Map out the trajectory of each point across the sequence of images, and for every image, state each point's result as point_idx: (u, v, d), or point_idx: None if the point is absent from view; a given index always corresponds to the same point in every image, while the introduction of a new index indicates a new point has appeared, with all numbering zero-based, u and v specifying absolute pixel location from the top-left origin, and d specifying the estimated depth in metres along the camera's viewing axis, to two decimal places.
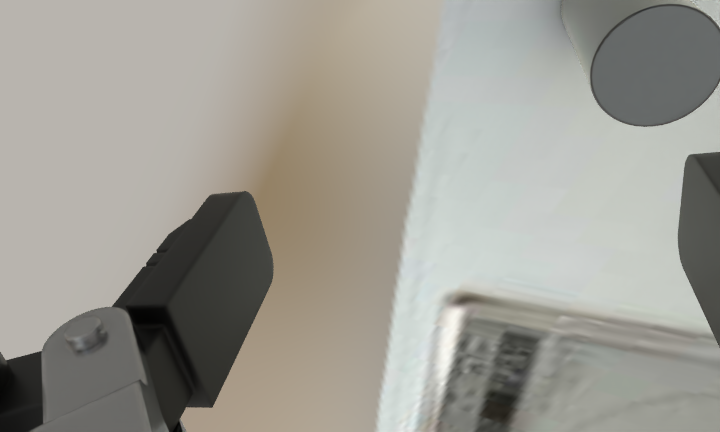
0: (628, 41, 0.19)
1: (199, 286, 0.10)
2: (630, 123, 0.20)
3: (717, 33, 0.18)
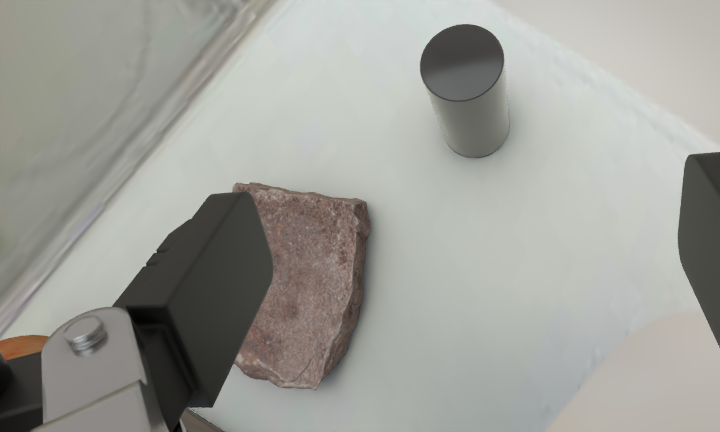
0: (488, 51, 0.28)
1: (199, 286, 0.10)
2: (433, 38, 0.29)
3: (464, 98, 0.28)
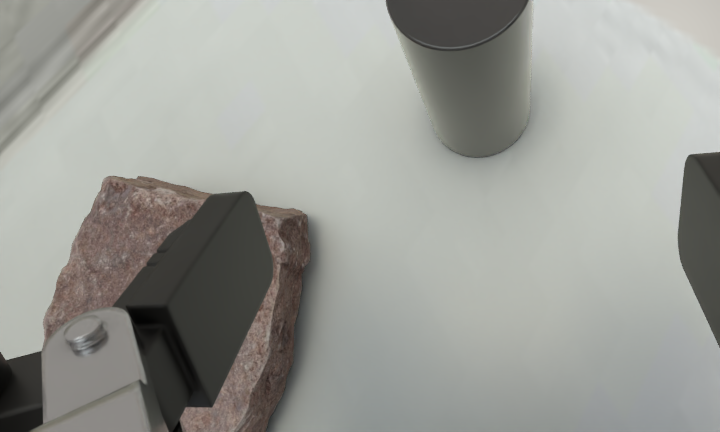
0: None
1: (199, 286, 0.10)
2: None
3: (459, 45, 0.16)
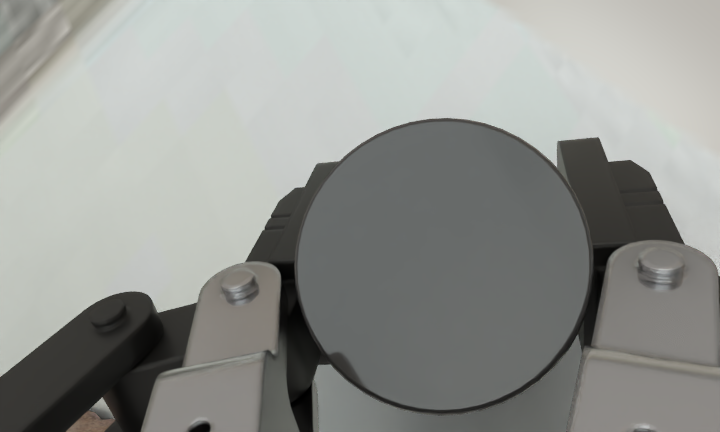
0: (534, 233, 0.08)
1: None
2: (346, 158, 0.09)
3: (437, 405, 0.07)
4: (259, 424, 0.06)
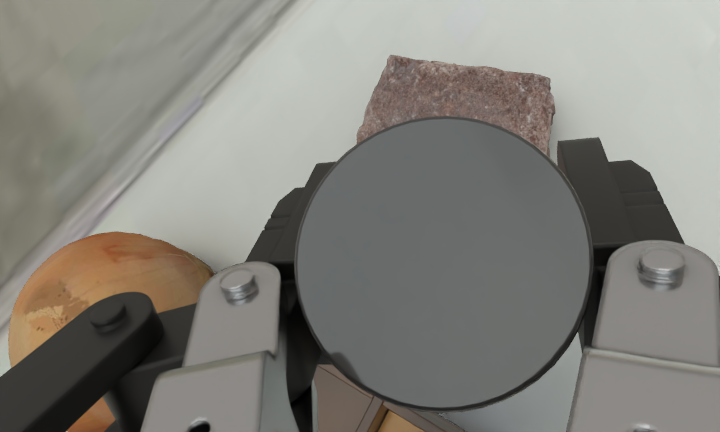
0: (534, 230, 0.08)
1: None
2: (346, 156, 0.09)
3: (437, 403, 0.07)
4: (259, 424, 0.06)
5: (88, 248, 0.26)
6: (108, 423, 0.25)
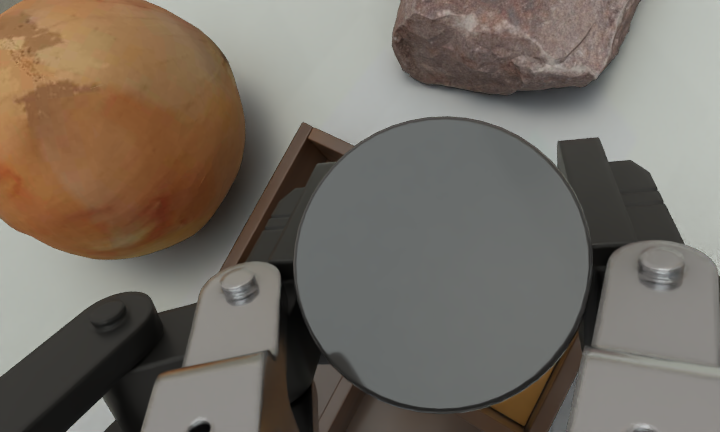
0: (533, 230, 0.08)
1: None
2: (345, 156, 0.09)
3: (436, 404, 0.07)
4: (259, 424, 0.06)
5: None
6: (86, 207, 0.18)
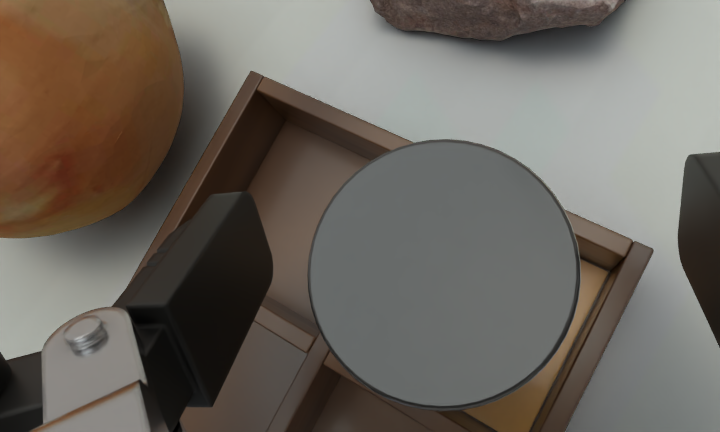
0: (527, 245, 0.08)
1: (199, 286, 0.10)
2: (355, 175, 0.09)
3: (438, 401, 0.08)
4: None
5: None
6: None
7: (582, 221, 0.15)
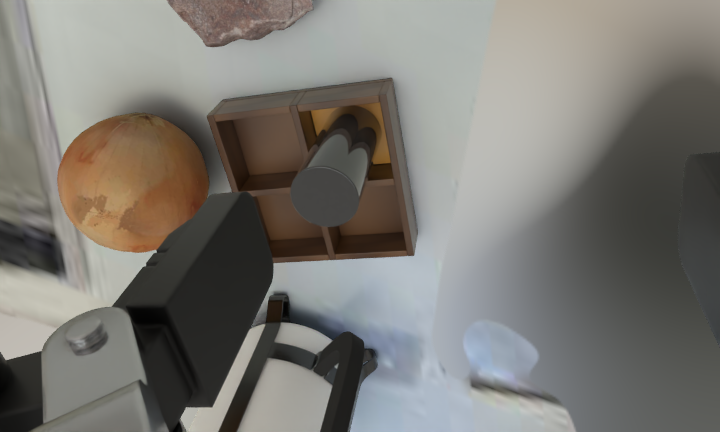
0: (337, 182, 0.33)
1: (199, 286, 0.10)
2: (291, 189, 0.34)
3: (345, 221, 0.34)
4: None
5: (71, 166, 0.37)
6: None
7: (359, 99, 0.37)
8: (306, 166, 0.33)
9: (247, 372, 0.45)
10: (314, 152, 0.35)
